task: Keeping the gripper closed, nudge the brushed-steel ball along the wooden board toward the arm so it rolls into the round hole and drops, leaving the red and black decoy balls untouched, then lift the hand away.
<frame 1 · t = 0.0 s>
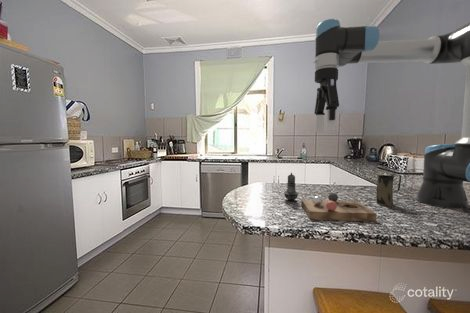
hand: (324, 131, 79), 28 cm above the counter, fingers open, 13 cm apart
mug: (387, 204, 88), on the counter
steel ball: (317, 200, 78), point 4 cm above the counter, touching wooden board
salt shaker: (290, 202, 92), on the counter
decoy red: (331, 205, 72), point 4 cm above the counter, touching wooden board
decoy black: (333, 197, 82), point 4 cm above the counter, touching wooden board
wooden board: (334, 213, 77), on the counter
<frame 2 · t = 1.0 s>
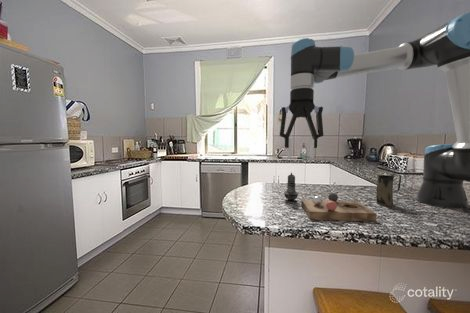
hand: (300, 157, 77), 19 cm above the counter, fingers open, 7 cm apart
nothing on the counter moved.
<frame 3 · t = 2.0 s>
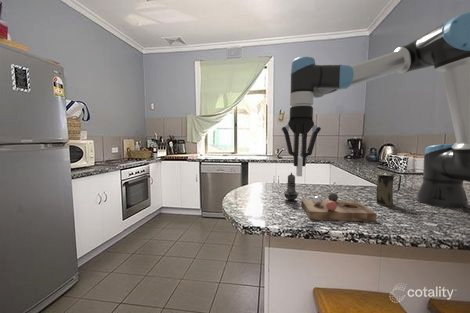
hand: (299, 175, 78), 13 cm above the counter, fingers closed
nothing on the counter moved.
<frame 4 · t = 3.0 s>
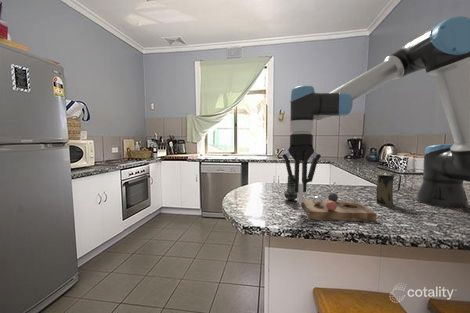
hand: (299, 201, 78), 4 cm above the counter, fingers closed
nothing on the counter moved.
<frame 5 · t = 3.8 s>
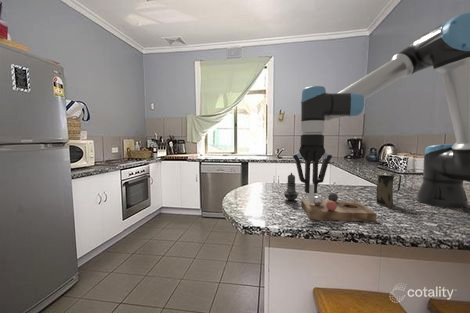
hand: (310, 202, 78), 4 cm above the counter, fingers closed
steel ball: (317, 200, 78), point 4 cm above the counter, touching wooden board, gripper
everything else where it was.
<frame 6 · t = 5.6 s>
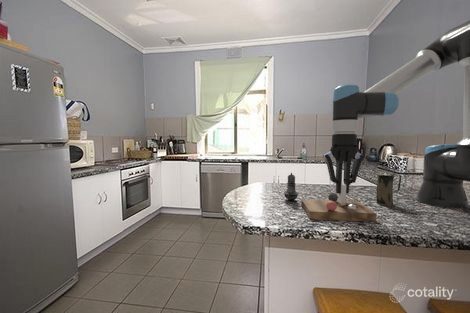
hand: (341, 202, 77), 4 cm above the counter, fingers closed
steel ball: (352, 209, 77), point 2 cm above the counter, tilted 10°
everything else where it was.
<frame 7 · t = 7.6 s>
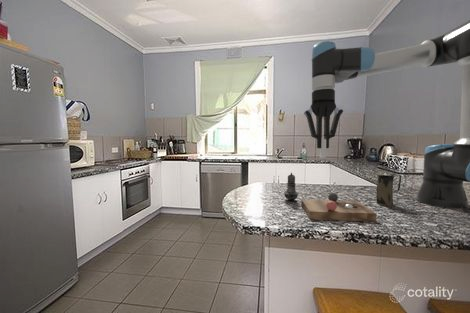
hand: (322, 157, 80), 19 cm above the counter, fingers closed
steel ball: (348, 208, 77), point 2 cm above the counter, tilted 30°
everything else where it was.
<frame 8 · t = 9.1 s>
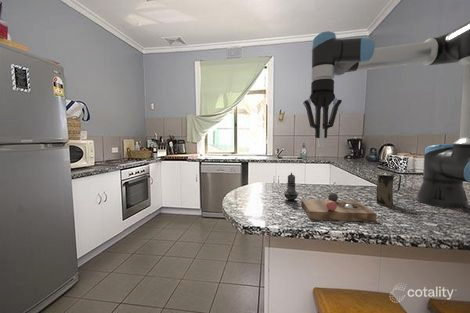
hand: (320, 147, 81), 22 cm above the counter, fingers closed
nothing on the counter moved.
at the end: steel ball 0.5 cm from the target spot on the wooden board, point 1.6 cm above the wooden board's base; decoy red moved 0.1 cm from its start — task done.
